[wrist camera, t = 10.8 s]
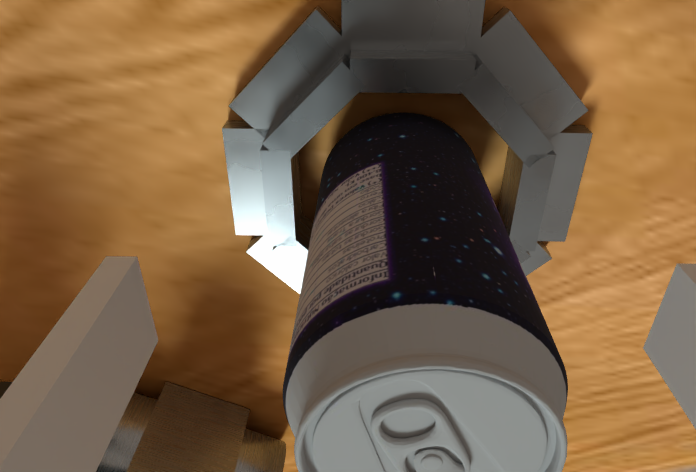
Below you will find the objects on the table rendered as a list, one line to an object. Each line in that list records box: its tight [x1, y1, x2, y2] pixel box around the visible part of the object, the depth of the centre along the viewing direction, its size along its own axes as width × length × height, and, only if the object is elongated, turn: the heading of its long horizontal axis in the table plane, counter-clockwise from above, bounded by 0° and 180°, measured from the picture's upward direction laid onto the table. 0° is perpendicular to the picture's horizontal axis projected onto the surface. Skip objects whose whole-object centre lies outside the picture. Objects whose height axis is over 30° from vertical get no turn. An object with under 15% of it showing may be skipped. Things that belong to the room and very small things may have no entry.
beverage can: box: [283, 113, 568, 472], centre depth 15 cm, size 6×6×12 cm
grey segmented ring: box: [222, 0, 593, 294], centre depth 19 cm, size 13×13×2 cm
